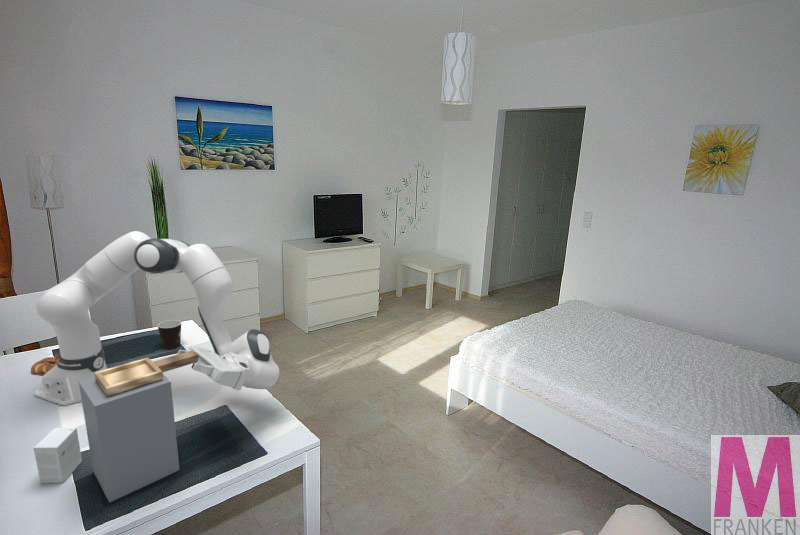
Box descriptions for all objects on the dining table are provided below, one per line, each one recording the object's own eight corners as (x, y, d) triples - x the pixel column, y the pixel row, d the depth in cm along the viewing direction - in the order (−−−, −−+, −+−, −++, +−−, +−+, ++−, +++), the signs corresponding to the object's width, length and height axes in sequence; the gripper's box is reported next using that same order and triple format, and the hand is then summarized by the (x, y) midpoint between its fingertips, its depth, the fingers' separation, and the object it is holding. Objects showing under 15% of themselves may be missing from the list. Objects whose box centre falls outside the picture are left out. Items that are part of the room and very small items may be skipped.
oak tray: (188, 352, 124) (187, 346, 123) (203, 365, 117) (203, 359, 117) (95, 379, 108) (94, 372, 108) (107, 396, 102) (106, 388, 101)
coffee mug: (173, 352, 179) (171, 329, 176) (155, 349, 181) (152, 326, 178) (192, 340, 190) (190, 318, 187) (174, 337, 192) (172, 316, 189)
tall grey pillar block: (159, 444, 126) (150, 361, 119) (179, 470, 117) (170, 381, 110) (93, 472, 115) (78, 381, 108) (109, 502, 105) (94, 406, 98)
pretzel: (30, 380, 155) (28, 370, 154) (32, 367, 164) (30, 358, 162) (73, 371, 162) (71, 362, 161) (72, 359, 170) (71, 350, 169)
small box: (60, 461, 118) (54, 427, 115) (83, 461, 118) (77, 427, 115) (39, 484, 110) (32, 447, 107) (63, 483, 110) (56, 447, 108)
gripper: (218, 346, 136) (175, 335, 126) (252, 371, 123) (207, 361, 113) (209, 365, 135) (165, 356, 125) (242, 392, 122) (196, 385, 112)
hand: (185, 359), depth 119 cm, fingers open, 8 cm apart
